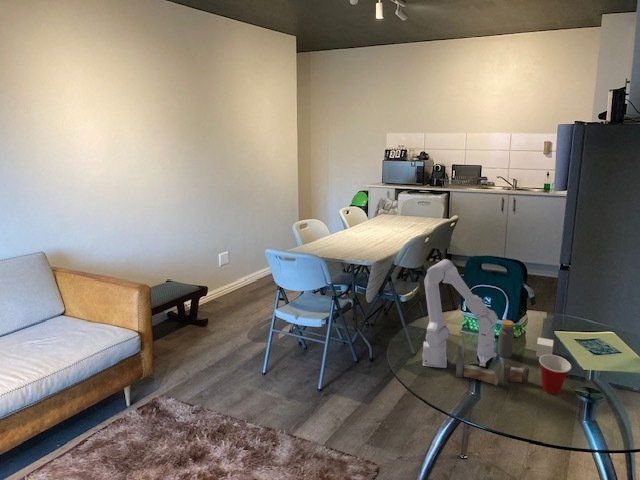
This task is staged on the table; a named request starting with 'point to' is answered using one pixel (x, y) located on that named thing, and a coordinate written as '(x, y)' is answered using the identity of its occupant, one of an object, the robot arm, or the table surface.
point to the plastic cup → (553, 372)
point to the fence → (516, 374)
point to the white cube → (544, 347)
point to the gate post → (459, 368)
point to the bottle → (506, 339)
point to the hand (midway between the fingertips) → (483, 373)
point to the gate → (481, 374)
